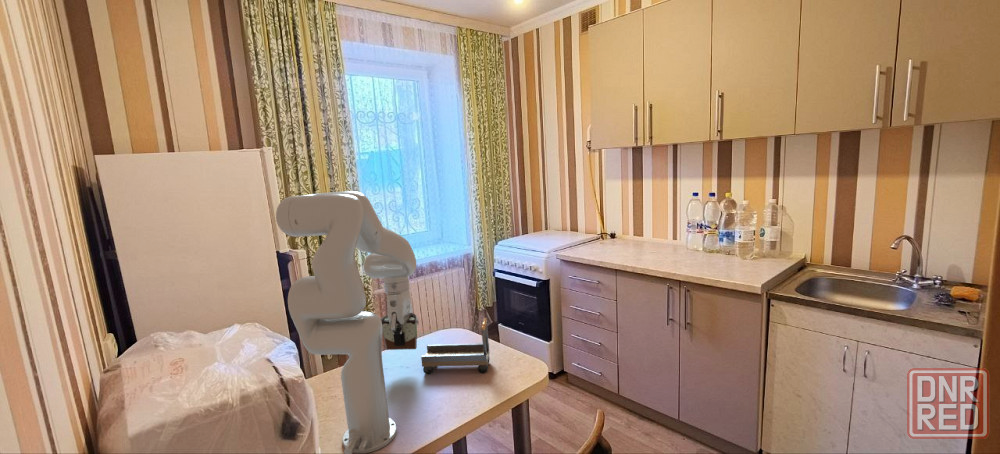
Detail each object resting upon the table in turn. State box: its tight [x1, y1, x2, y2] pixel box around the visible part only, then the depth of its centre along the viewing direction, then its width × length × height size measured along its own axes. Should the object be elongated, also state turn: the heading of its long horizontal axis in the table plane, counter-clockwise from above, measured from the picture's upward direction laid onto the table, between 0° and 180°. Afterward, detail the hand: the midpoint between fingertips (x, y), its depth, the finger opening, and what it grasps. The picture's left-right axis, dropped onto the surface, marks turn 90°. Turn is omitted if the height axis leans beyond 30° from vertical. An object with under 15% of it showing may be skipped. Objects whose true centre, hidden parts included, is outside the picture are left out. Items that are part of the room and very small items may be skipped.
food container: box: [380, 313, 420, 351], centre depth 133 cm, size 12×6×10 cm, turn 85°
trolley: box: [420, 317, 491, 375], centre depth 132 cm, size 8×20×15 cm, turn 86°
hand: (402, 340), depth 133 cm, fingers closed on food container, 5 cm apart
